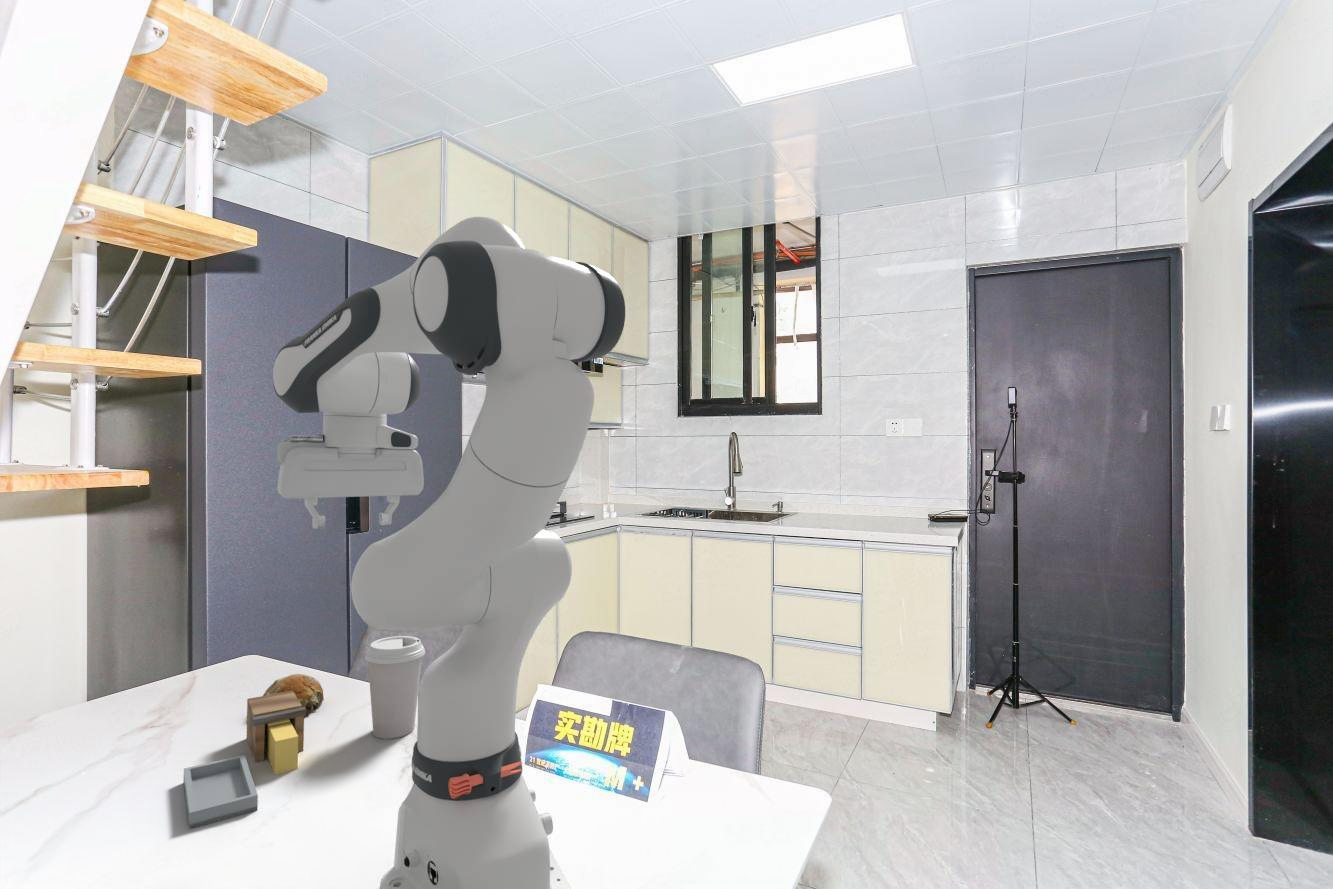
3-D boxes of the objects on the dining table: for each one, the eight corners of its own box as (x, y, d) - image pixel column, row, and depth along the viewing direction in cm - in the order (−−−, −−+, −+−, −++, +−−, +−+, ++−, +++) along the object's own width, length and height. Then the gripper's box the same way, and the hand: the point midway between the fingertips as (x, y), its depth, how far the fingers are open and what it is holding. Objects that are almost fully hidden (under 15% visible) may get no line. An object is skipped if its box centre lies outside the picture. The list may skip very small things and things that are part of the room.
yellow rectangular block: (297, 769, 101) (298, 735, 101) (274, 775, 99) (275, 740, 99) (286, 745, 109) (286, 713, 109) (264, 750, 107) (265, 718, 107)
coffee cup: (410, 743, 110) (412, 651, 110) (352, 742, 110) (354, 650, 110) (432, 719, 119) (433, 635, 119) (378, 718, 119) (380, 634, 119)
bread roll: (317, 717, 129) (313, 674, 131) (332, 708, 122) (328, 663, 124) (258, 731, 122) (254, 685, 125) (270, 722, 115) (267, 675, 118)
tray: (257, 810, 89) (257, 795, 89) (189, 828, 85) (189, 812, 85) (244, 768, 100) (244, 754, 101) (183, 782, 96) (183, 768, 96)
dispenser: (305, 750, 107) (306, 709, 107) (252, 762, 102) (253, 719, 102) (294, 728, 115) (294, 690, 115) (244, 738, 110) (245, 699, 110)
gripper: (280, 434, 94) (278, 533, 94) (428, 437, 106) (426, 525, 107) (274, 433, 99) (271, 527, 99) (415, 437, 111) (413, 520, 112)
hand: (352, 526), depth 103 cm, fingers open, 8 cm apart
